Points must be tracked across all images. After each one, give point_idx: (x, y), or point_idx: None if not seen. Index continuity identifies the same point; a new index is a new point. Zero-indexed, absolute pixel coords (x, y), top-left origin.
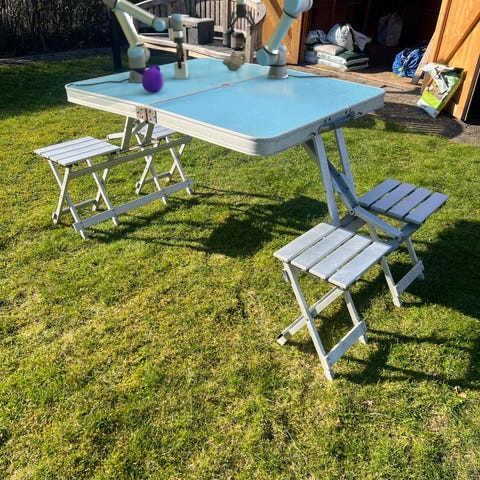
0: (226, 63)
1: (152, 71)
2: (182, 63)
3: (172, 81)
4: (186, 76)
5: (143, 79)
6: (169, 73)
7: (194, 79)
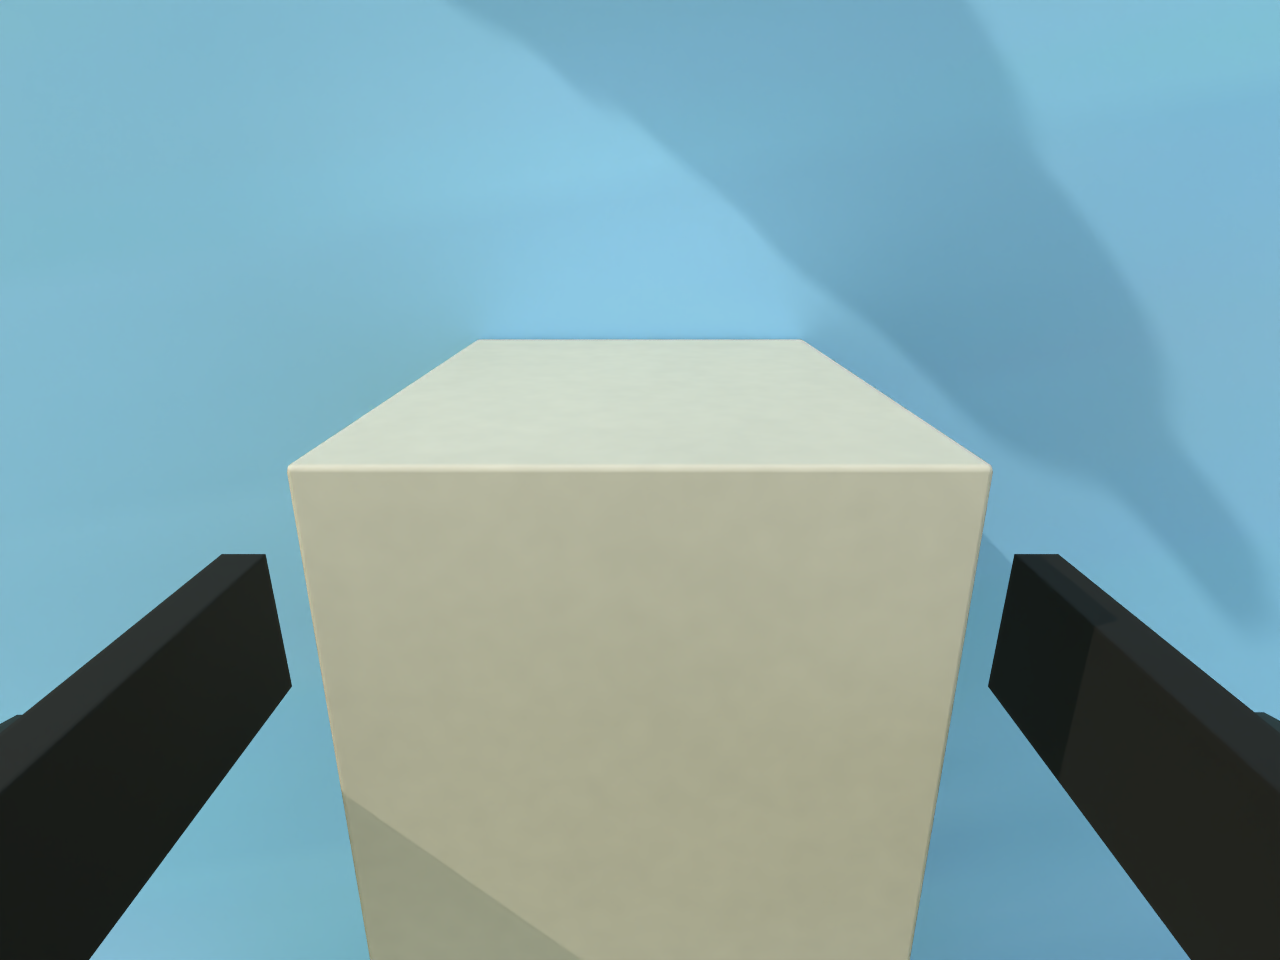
0: None
1: None
2: (870, 639)
3: (1160, 633)
4: (774, 345)
5: None
6: None
7: (1021, 33)
